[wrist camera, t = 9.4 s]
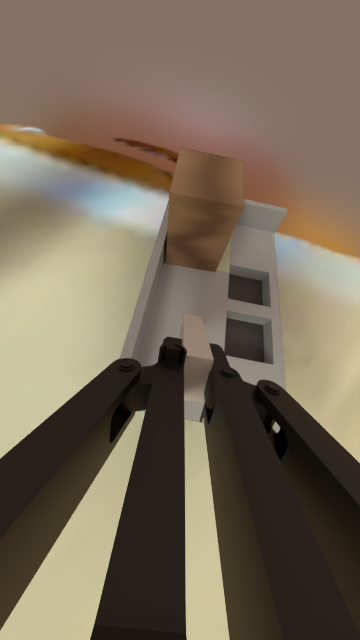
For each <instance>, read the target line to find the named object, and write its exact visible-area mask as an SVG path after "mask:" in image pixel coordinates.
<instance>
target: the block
mask: <svg viewBox="0 0 360 640" xmlns="http://www.w3.org/2000/svg"><path fill="white" fill-rule="evenodd" d="M243 209H244V187H243V164H242V160H238V159H233V158H228V157H223V156H219V155H214V154H209V153H204V152H199V151H194V150H190V149H185V148H180V152H179V156H178V160H177V164H176V168H175V172H174V176H173V180H172V184H171V188H170V192H169V210H168V228H167V247H166V264H170V265H176V266H182V267H188V268H193V269H199V270H205V271H211V272H216V270H217V268H218V265H219V263H220V261H221V259H222V256H223V254H224V252H225V249H226V247H227V245H228V243H229V240H230V238H231V236H232V234H233V231H234V229H235V227H236V225H237V222H238V220H239V218H240V216H241V213H242V211H243Z"/></svg>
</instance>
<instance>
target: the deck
mask: <svg viewBox="0 0 360 640" xmlns="http://www.w3.org/2000/svg"><path fill="white" fill-rule="evenodd" d="M168 210H169V201H168V204H167V208H166V211H165V214H164V217H163V221H162V224H161V227H160V230H159V234H158V237H157V240H156V243H155V246H154V250H153V253H152V256H151V259H150V263H149V266H148V269H147V272H146V276H145V279H144V282H143V285H142V288H141V292H140V295H139V298H138V301H137V305H136V308H135V311H134V314H133V318H132V321H131V324H130V327H129V330H128V334H127V337H126V340H125V343H124V347H123V350H122V353H121V356H120V359H121V358H132V359H135V360H137V361H139V363H140V364H141V367H143V366H151V365H154V364H156V363H157V362H158V356H159V349H160V346H161V345H162V344H163V340H164V339H165V338H166V337H167V336H168V337H174V338H179V335H180V330H181V325H182V320H183V315H184V314H189V315H195V316H200V317H202V320H203V324H204V327H205V331H206V334H207V338H208V342H209V343H212V344H218V345H219V346H220V347H221V348H222V349H223V351H224V354H225V355H226V358H227V360H228V363H229V365H230V367H231V368H233V369H235V370H236V371H237V372H238V373H239V374H240V376H241V378H242V380H243V381H245V382H247V383H250V384H253V385H257V382H258V381H259V380H263V379H264V380H270V381H273V382H275V383H276V384H278V385H279V386H281V387H282V388H283V389H284V390H285V379H284V365H283V352H282V338H281V324H280V311H279V297H278V284H277V270H276V256H275V243H274V231H275V230H276V229H277V227H278V226H279V224H280V223H281V221H282V220H283V218H284V217H285V215H286V214H287V209H286V208H282V207H278V206H273V205H269V204H264V203H259V202H255V201H250V200H245V199H244V209H243V211H242V213H241V216H240V218H239V220H238V222H237V225H236V227H235V229H234V231H233V234H232V236H231V238H230V240H229V243H228V245H227V247H226V249H225V252H224V254H223V256H222V259H221V261H220V263H219V265H218V268H217V270H216V272H211V271H205V270H199V269H193V268H188V267H182V266H176V265H170V264H166V247H167V228H168ZM204 403H205V399H204V396H203V400H202V403H199V402H193V401H186V400H184V419H186V420H192V421H197V422H200V417H201V413H202V410H203V406H204ZM142 412H146V410H142ZM202 422H203V423H204V417H203V419H202ZM273 429H274V430H275V431H276V432H277V433H278V432H279V430H280V427H279V425H278V424H277V423H276V422H275V424H274V426H273Z"/></svg>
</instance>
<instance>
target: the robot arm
mask: <svg viewBox="0 0 360 640" xmlns="http://www.w3.org/2000/svg"><path fill="white" fill-rule="evenodd" d="M203 396H204V399H205V403H204V406H203V410H202V413H201V417H200V422H202V419H203V417H204V426H205V434H206V443H207V451H208V460H209V468H210V477H211V485H212V493H213V502H214V510H215V519H216V527H217V536H218V544H219V553H220V561H221V570H222V578H223V587H224V595H225V604H226V612H227V621H228V629H229V638H230V640H360V463H359V462H358V461H357V460H356V459H355V458H354V457H353V456H352V455H351V454H350V453H349V452H348V451H347V450H346V449H345V448H343V447H342V446H341V445H340V444H339V443H338V442H337V441H336V440H335V439H334V438H333V437H332V436H331V435H330V434H329V433H328V432H327V431H326V430H325V429H324V428H323V427H322V426H321V425H320V424H319V423H318V422H317V421H316V420H315V419H314V418H313V417H312V416H311V415H310V414H309V413H308V412H307V411H306V410H305V409H304V408H303V407H302V406H301V405H300V404H299V403H298V402H297V401H296V400H295V399H293V398H292V397H291V396H290V395H289V394H288V393H287V392H286V391H285V390H284V389H283V388H282V387H281V386H279V385H278V384H276V383H275V382H273V381H270V380H264V379H263V380H259V381H258V382H257V385H253V384H250V383H247V382H245V381H243V380H242V378H241V376H240V374H239V373H238V372H237V371H236V370H235V369H233V368H231V367H230V365H229V363H228V360H227V358H226V355H225V354H224V351H223V349H222V348H221V347H220V346H219V345H218V344H212V343H209V342H208V338H207V334H206V331H205V327H204V324H203V320H202V317H200V316H195V315H189V314H184V315H183V320H182V325H181V330H180V335H179V338H174V337H168V336H167V337H166V338H165V339H164V340H163V344H162V345H161V346H160V349H159V356H158V362H157V363H156V364H154V365H151V366H143V367H141V364H140V363H139V361H137V360H135V359H132V358H121V359H118V360H116V361H114V362H113V363H112V364H110V365H109V366H108V367H107V368H106V369H105V370H103V371H102V372H101V373H100V374H99V375H98V376H96V377H95V378H94V379H93V380H92V381H91V382H89V383H88V384H87V385H86V386H85V387H84V388H82V389H81V390H80V391H79V392H78V393H77V394H75V395H74V396H73V397H72V398H71V399H70V400H68V401H67V402H66V403H65V404H64V405H63V406H61V407H60V408H59V409H58V410H57V411H56V412H54V413H53V414H52V415H51V416H50V417H49V418H47V419H46V420H45V421H44V422H43V423H42V424H40V425H39V426H38V427H37V428H36V429H34V430H33V431H32V432H31V433H30V434H29V435H27V436H26V437H25V438H24V439H23V440H22V441H20V442H19V443H18V444H17V445H16V446H15V447H13V448H12V449H11V450H10V451H9V452H8V453H6V454H5V455H4V456H3V457H2V458H1V459H0V630H1V628H2V627H3V625H4V623H5V622H6V620H7V619H8V617H9V615H10V614H11V612H12V611H13V609H14V607H15V606H16V604H17V603H18V601H19V599H20V598H21V596H22V595H23V593H24V591H25V590H26V588H27V587H28V585H29V583H30V582H31V580H32V579H33V577H34V575H35V574H36V572H37V570H38V569H39V567H40V566H41V564H42V562H43V561H44V559H45V558H46V556H47V554H48V553H49V551H50V550H51V548H52V546H53V545H54V543H55V542H56V540H57V538H58V537H59V535H60V534H61V532H62V530H63V529H64V527H65V526H66V524H67V522H68V521H69V519H70V518H71V516H72V514H73V513H74V511H75V510H76V508H77V506H78V505H79V503H80V501H81V500H82V498H83V497H84V495H85V493H86V492H87V490H88V489H89V487H90V485H91V484H92V482H93V481H94V479H95V477H96V476H97V474H98V473H99V471H100V469H101V468H102V466H103V465H104V463H105V461H106V460H107V458H108V457H109V455H110V453H111V452H112V450H113V449H114V447H115V445H116V444H117V442H118V440H119V439H120V437H121V436H122V434H123V432H124V431H125V429H126V428H127V426H128V424H129V423H130V421H131V420H132V418H133V416H134V415H135V412H136V411H142V410H146V412H145V416H144V420H143V424H142V428H141V433H140V437H139V441H138V445H137V449H136V453H135V458H134V462H133V466H132V470H131V474H130V478H129V483H128V487H127V491H126V495H125V499H124V503H123V508H122V512H121V516H120V520H119V524H118V528H117V533H116V537H115V541H114V545H113V549H112V553H111V558H110V562H109V566H108V570H107V574H106V579H105V583H104V587H103V591H102V595H101V599H100V604H99V608H98V612H97V616H96V620H95V624H94V628H93V631H92V635H91V639H90V640H187V639H186V604H185V448H184V400H186V401H193V402H199V403H202V400H203ZM275 422H276V423H277V424H278V425H279V427H280V430H279V432H278V433H277V432H276V431H275V430H274V429H273V426H274V424H275Z"/></svg>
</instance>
